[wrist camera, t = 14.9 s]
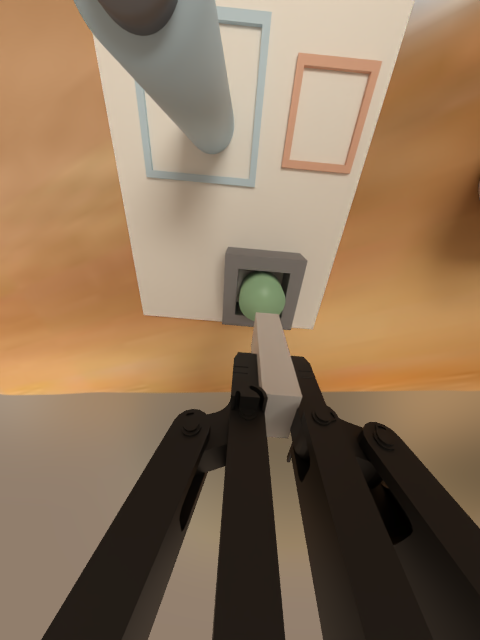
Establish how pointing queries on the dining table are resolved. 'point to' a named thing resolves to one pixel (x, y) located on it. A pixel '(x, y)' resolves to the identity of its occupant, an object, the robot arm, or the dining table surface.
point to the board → (256, 157)
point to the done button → (261, 294)
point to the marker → (171, 60)
